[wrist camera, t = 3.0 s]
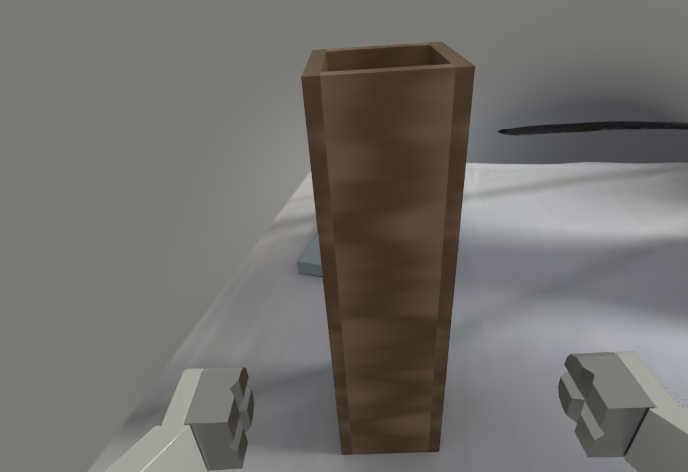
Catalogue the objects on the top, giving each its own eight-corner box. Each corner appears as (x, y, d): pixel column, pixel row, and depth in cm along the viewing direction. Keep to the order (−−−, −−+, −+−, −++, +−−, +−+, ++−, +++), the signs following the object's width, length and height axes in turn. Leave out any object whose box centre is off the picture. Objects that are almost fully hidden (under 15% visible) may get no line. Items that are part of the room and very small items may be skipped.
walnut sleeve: (423, 373, 34) (441, 41, 21) (438, 451, 28) (475, 66, 16) (342, 376, 34) (312, 50, 21) (341, 454, 29) (301, 77, 16)
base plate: (449, 215, 55) (453, 157, 51) (429, 293, 42) (433, 224, 38) (345, 205, 59) (341, 150, 55) (298, 272, 46) (289, 208, 42)
